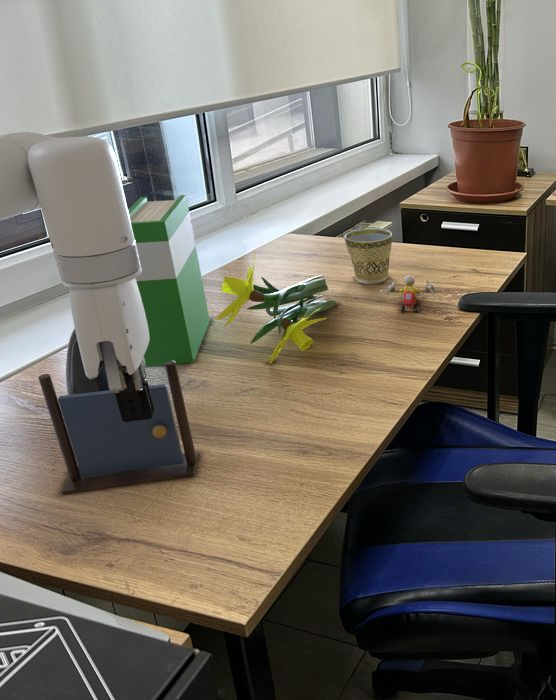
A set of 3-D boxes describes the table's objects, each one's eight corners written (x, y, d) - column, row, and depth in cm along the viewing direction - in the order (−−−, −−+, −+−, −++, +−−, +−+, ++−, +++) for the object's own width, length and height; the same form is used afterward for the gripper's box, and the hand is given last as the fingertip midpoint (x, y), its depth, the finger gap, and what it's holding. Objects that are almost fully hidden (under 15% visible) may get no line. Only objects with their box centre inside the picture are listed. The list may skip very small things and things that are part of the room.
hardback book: (168, 325, 131) (140, 197, 121) (210, 322, 132) (186, 194, 122) (146, 368, 115) (112, 224, 105) (194, 364, 116) (164, 221, 106)
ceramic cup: (376, 291, 145) (373, 244, 141) (338, 283, 150) (334, 237, 146) (411, 272, 156) (409, 228, 151) (375, 265, 160) (372, 222, 156)
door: (78, 485, 85) (53, 405, 80) (83, 473, 87) (59, 395, 82) (181, 470, 87) (163, 393, 82) (183, 460, 89) (166, 383, 85)
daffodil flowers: (375, 311, 138) (318, 340, 104) (314, 348, 141) (239, 389, 106) (329, 236, 136) (255, 241, 102) (268, 275, 139) (177, 293, 105)
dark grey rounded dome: (100, 445, 95) (71, 342, 88) (63, 421, 101) (33, 323, 94) (169, 413, 102) (146, 316, 96) (130, 393, 108) (107, 300, 101)
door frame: (63, 497, 85) (27, 387, 78) (74, 473, 89) (41, 367, 83) (196, 478, 88) (172, 371, 81) (200, 456, 92) (178, 353, 86)
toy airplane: (408, 318, 132) (406, 286, 129) (378, 306, 138) (376, 274, 135) (444, 305, 138) (443, 274, 135) (414, 293, 144) (413, 263, 141)
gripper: (79, 245, 78) (118, 390, 86) (36, 292, 65) (87, 458, 73) (151, 239, 80) (182, 383, 88) (123, 284, 67) (163, 447, 75)
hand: (139, 416), depth 80 cm, fingers closed
